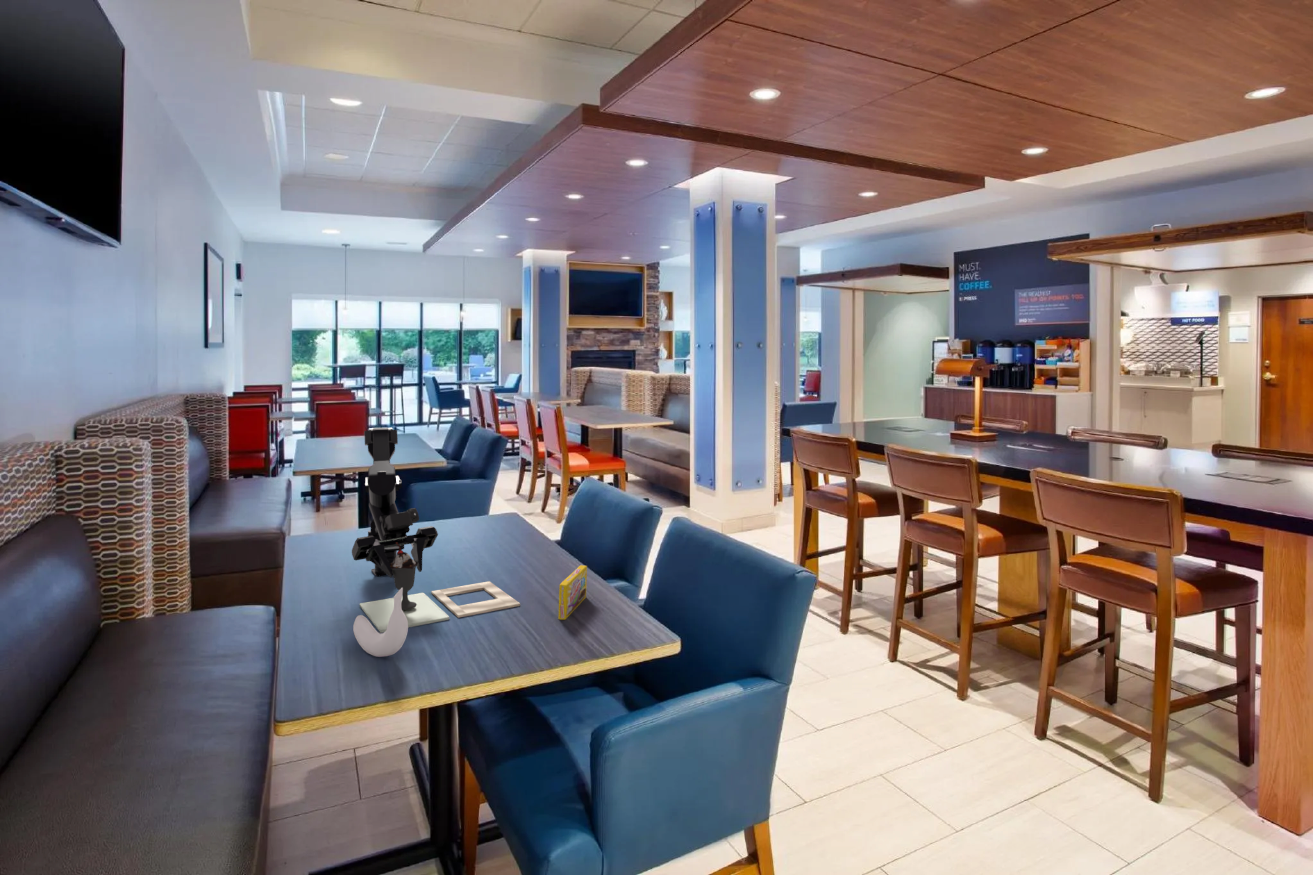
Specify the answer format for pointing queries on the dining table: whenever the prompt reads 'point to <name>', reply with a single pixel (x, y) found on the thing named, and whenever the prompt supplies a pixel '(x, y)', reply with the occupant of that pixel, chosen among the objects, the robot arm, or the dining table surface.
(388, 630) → the white curved piece
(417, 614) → the stub pad
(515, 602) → the wooden picture frame
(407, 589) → the sundae
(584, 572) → the candy box
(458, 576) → the dining table surface
